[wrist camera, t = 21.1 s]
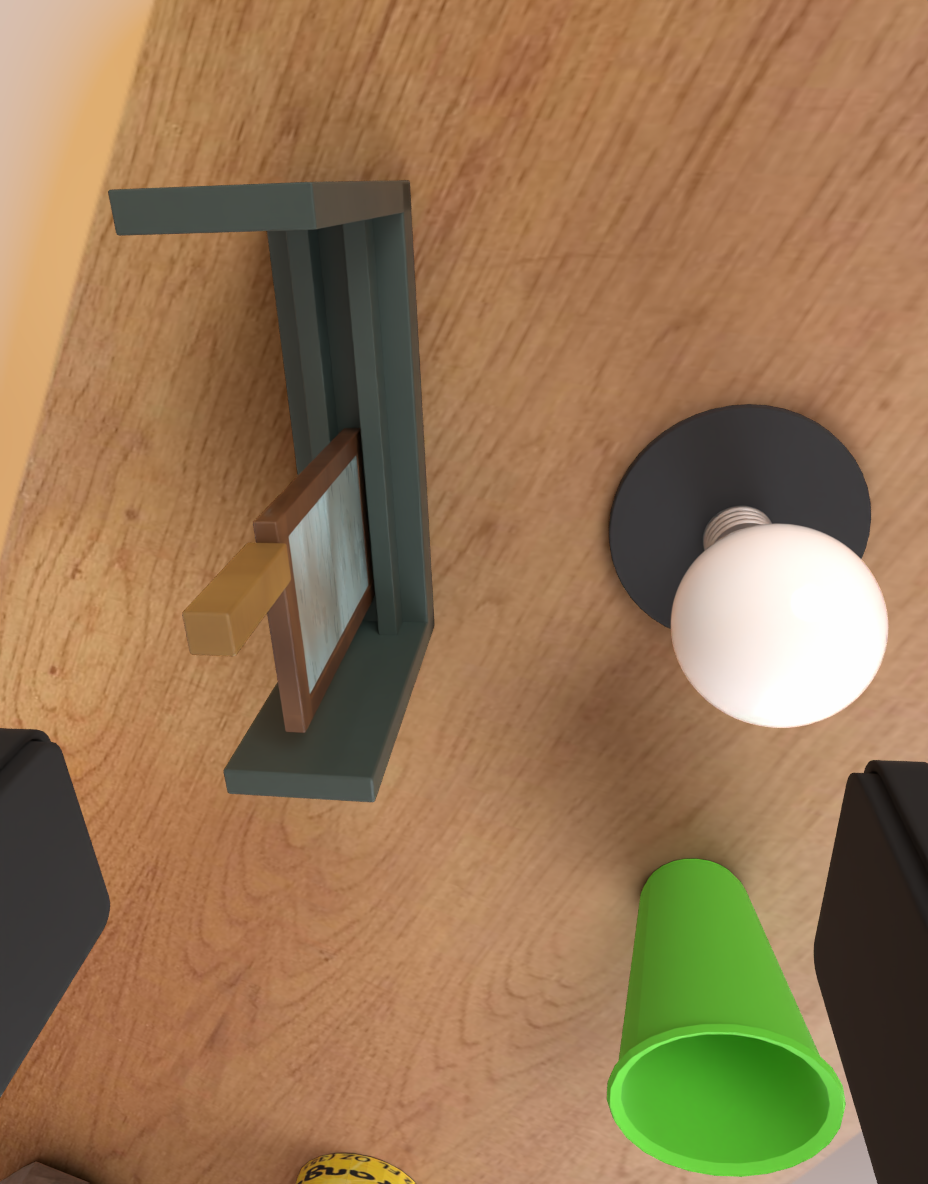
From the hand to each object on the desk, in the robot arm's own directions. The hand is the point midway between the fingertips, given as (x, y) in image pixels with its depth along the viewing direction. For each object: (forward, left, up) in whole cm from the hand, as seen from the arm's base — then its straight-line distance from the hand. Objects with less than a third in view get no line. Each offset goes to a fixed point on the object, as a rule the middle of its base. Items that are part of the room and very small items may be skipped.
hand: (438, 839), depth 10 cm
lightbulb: (+6, +8, -25) cm, 27 cm away
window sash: (+5, -7, -23) cm, 25 cm away
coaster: (+6, +8, -25) cm, 27 cm away
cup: (+26, +8, -25) cm, 37 cm away
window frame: (+2, -7, -25) cm, 26 cm away
